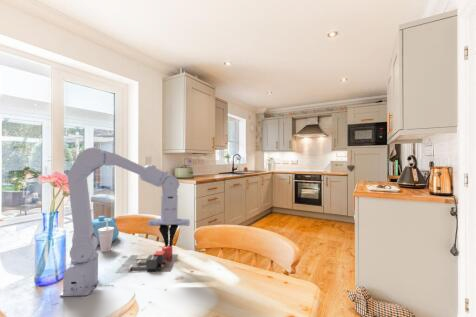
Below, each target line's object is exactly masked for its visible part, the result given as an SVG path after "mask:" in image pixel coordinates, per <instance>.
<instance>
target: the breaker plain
mask: <svg viewBox="0 0 476 317" xmlns="http://www.w3.org/2000/svg"><path fill="white" fill-rule="evenodd" d="M157 266H158V256H149V257H148V259H147V260H146V269H156V267H157Z"/></svg>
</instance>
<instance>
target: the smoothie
mask: <svg viewBox="0 0 476 317" xmlns="http://www.w3.org/2000/svg"><path fill="white" fill-rule="evenodd" d="M113 231H114V227H108V219H106V227H103V228H100V229H98V233H99V239H100V245H99V246H100V252H101V253H108V252H110V251H111V248H112V242H113V241H112V237H113Z"/></svg>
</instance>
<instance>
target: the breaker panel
mask: <svg viewBox="0 0 476 317" xmlns="http://www.w3.org/2000/svg"><path fill="white" fill-rule="evenodd" d="M149 256H154V254H150V253H149V254H145V253H144V254H131V255H130V256H129V257H128V258H127V259H126V260H125V261H124V262H123V264H122V265H121V266H120V267H119V268H118V269H117V270H116V271H114V274H125V273H127V274H131V273H169V272H170V273H171V271H172V270H173V268H174V264H175V263H176V260H177V259H178V256H179V254H178V253H177V254H176V253H175V254H173V253H172V258H170V259H165V261H164V262H163V264H158V266H157V267H156V269H146V260H147V259H148V257H149Z"/></svg>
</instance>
